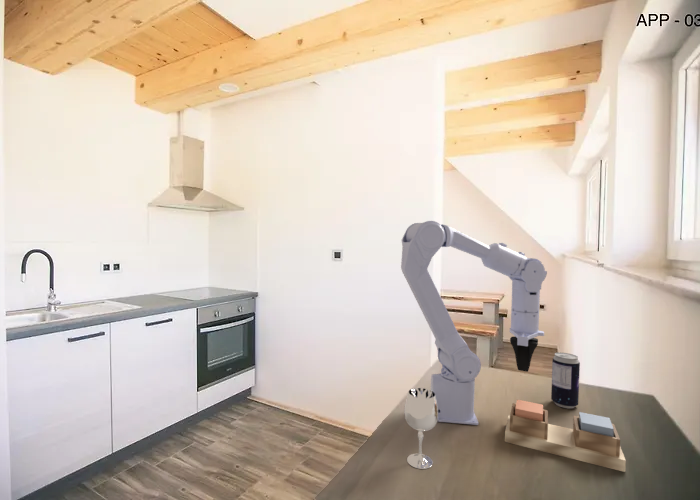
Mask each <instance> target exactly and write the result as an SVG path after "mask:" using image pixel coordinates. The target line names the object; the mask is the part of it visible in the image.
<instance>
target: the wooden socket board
mask: <svg viewBox="0 0 700 500" xmlns="http://www.w3.org/2000/svg"><path fill="white" fill-rule="evenodd" d="M515 408H516V403H514V402H513V403H512V404H511V410H510V414H508V416H507V420H506V425H505V431H504V443H508V444H513V445H516V446H519V447H524V448H528V449H532V450H536V451H539V452H544V453H546V454H547V453H548V454H552V455H556V456H560V457H563V458H564V457H565V458H567V459H571V460H576V461H580V462H583V463H588V464H592V465H596V466H600V467H604V468H608V469H612V470H616V471H620V472H623V473H625V472H626V464H627V460H626V457H625V454H624V453H623V450H622V447H621V438H620V435H619V433H618V431H617V428H616V425H615V424H614V423H612V426H613V429H614V434H613V437H611V436H606V435H602V434H597V433H592V432H588V431H583V430H579V415H578V416H576V415H573V418H572V421H573V422H572V423H573V426H572V428H569V427H564V426H560V425H555V424H550V423H549V411H548V410H547V409H543V422H542V421H537V420H533V419H528V418H524V417H519V416H515Z"/></svg>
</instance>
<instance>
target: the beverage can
mask: <svg viewBox="0 0 700 500" xmlns="http://www.w3.org/2000/svg"><path fill="white" fill-rule="evenodd" d="M551 364H552V367H551V396H550V399H551V401H552V402H553V403H554V404H555V405H556V406H558V407H561V408H563V409H571V410H572V409H575V407H577V406H578V405H579V395H580V393H579V391H580V369H581V368H580V366H581V363H580V360H579V357H578V356H577V355H575V354H572V353H567V352H555V353H554V356H553V357H552V363H551Z"/></svg>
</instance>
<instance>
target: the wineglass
mask: <svg viewBox="0 0 700 500" xmlns="http://www.w3.org/2000/svg"><path fill="white" fill-rule="evenodd" d="M404 420H405V421H406V423H407V425H408V426H409V427H410V428H412V429H413V430H416V431H417V439H418V453H417V452H416V453H411V454H409V455H408V456H407V458H406V462H407V463H408V465H410V466H411V467H413V468H415V469H419V470H427V469H430V468H431V467H433V465H434V462H433V460H432V458H431V457H430V456H428V455H426V454H423V452H422V451H423V450H422V447H423V439H424V432H428V431H430V430H432V429H434V427H436V425H437V423H438V422H437V420H438V405H437V400H436V395H435V393H434V392H433V391H431V389H429V388H425V387H424V388H423V387H415V388H411V389H409V390H408V392H407V396H406V400H405V404H404Z"/></svg>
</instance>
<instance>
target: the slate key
mask: <svg viewBox="0 0 700 500" xmlns="http://www.w3.org/2000/svg"><path fill="white" fill-rule="evenodd" d="M578 417H579V430H583V431H588V432H592V433H597V434H602V435H606V436H611V437H613V434H614V429H613V426H612V424H613V423H612V420H611V418H610V417H606V416H603V415H595V414H592V413H586V412H581V411H579V413H578Z"/></svg>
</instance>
